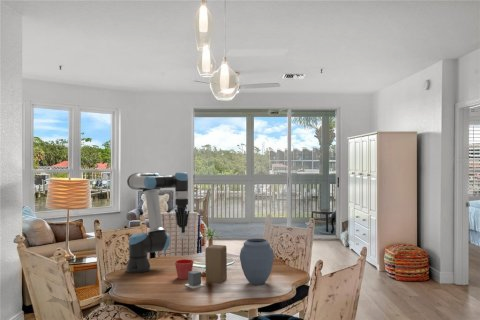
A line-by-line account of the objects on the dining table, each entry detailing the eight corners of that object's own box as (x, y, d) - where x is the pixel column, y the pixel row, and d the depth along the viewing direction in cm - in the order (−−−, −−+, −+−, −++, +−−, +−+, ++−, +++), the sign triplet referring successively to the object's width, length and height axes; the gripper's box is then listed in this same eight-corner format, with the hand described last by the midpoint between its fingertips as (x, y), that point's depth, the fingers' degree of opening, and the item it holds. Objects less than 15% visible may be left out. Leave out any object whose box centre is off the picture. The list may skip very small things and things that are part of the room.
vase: (250, 290, 224) (249, 244, 224) (234, 281, 241) (233, 239, 242) (281, 285, 233) (280, 241, 233) (263, 277, 250) (262, 236, 251)
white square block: (184, 285, 235) (184, 273, 235) (196, 282, 240) (196, 270, 240) (192, 288, 229) (192, 275, 229) (204, 285, 234) (204, 273, 234)
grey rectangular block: (188, 283, 235) (188, 271, 235) (196, 282, 238) (195, 270, 238) (193, 285, 231) (193, 273, 231) (201, 283, 234) (201, 272, 234)
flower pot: (190, 280, 246) (190, 263, 246) (172, 279, 248) (172, 262, 248) (195, 275, 256) (195, 259, 256) (178, 274, 258) (178, 259, 259)
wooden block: (227, 279, 247) (227, 245, 247) (221, 283, 237) (220, 248, 238) (211, 277, 250) (211, 244, 250) (205, 282, 241) (204, 247, 241)
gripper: (170, 198, 251) (171, 237, 251) (182, 199, 241) (182, 240, 241) (181, 197, 256) (181, 236, 256) (193, 198, 246) (193, 238, 246)
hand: (182, 238), depth 248 cm, fingers closed
